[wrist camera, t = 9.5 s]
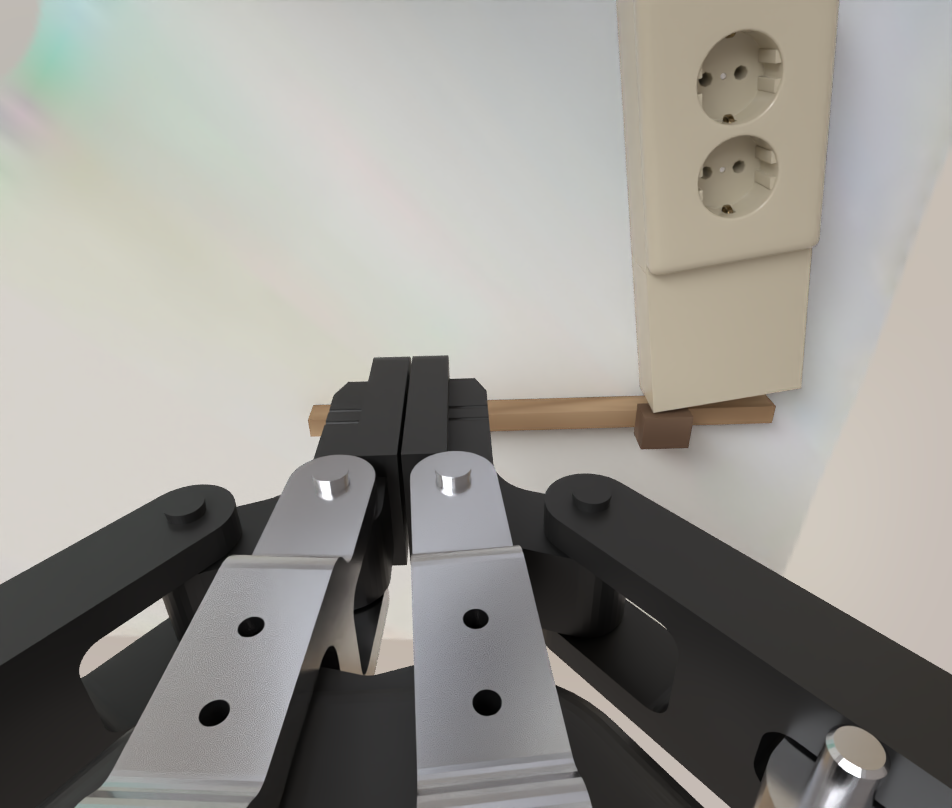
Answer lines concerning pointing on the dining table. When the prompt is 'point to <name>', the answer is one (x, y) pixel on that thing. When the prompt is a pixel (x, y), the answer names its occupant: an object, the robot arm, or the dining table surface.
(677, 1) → the electrical outlet
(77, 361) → the dining table surface
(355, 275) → the dining table surface
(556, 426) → the brown flat piece
